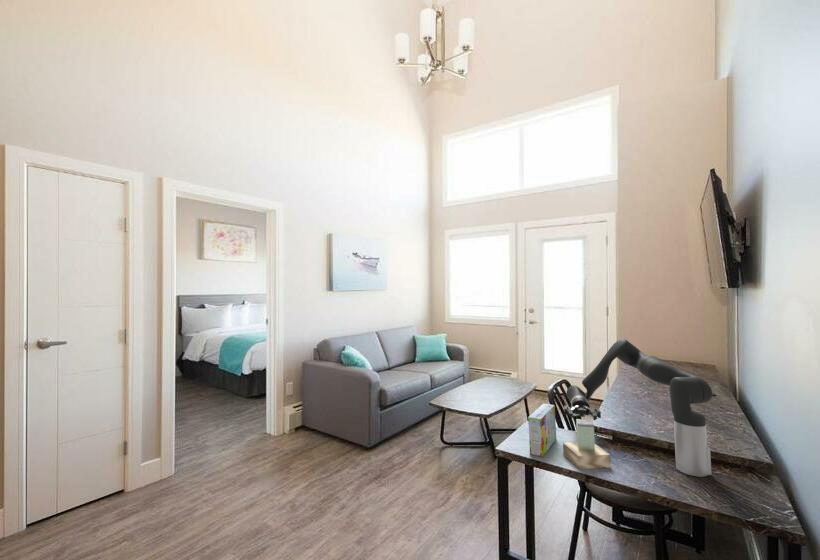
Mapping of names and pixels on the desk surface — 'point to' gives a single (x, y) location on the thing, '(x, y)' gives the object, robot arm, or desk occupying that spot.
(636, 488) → the desk surface
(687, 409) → the robot arm
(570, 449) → the birch block
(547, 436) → the snack box
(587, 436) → the tea tin
